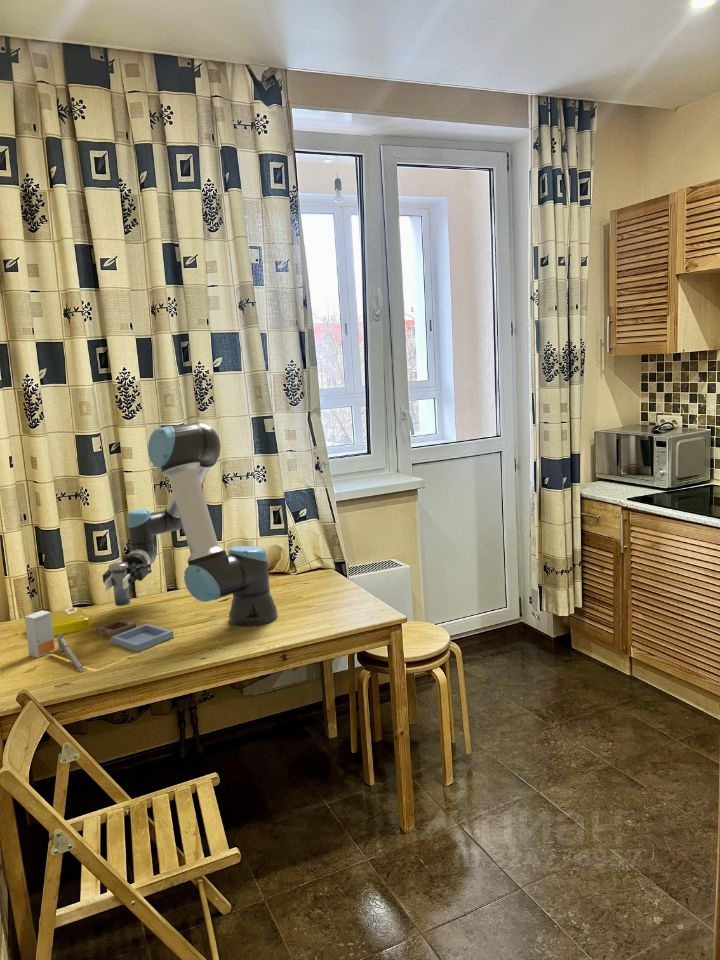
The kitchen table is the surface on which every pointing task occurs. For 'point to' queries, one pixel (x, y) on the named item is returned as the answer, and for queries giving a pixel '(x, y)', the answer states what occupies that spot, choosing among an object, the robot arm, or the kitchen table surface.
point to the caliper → (68, 651)
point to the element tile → (69, 621)
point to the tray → (142, 637)
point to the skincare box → (39, 633)
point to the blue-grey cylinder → (119, 583)
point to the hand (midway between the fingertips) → (115, 585)
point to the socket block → (115, 628)
